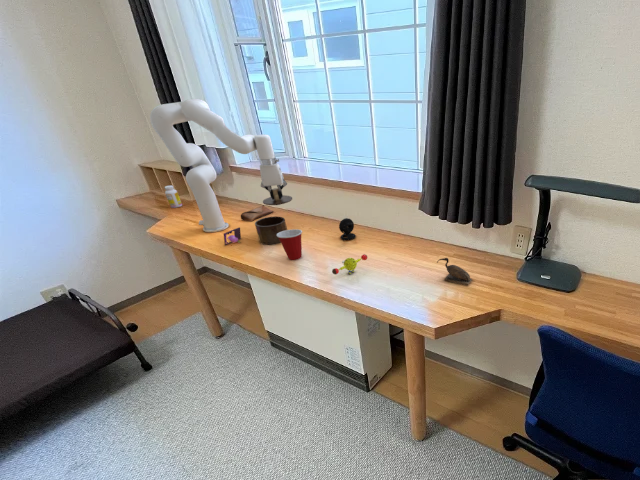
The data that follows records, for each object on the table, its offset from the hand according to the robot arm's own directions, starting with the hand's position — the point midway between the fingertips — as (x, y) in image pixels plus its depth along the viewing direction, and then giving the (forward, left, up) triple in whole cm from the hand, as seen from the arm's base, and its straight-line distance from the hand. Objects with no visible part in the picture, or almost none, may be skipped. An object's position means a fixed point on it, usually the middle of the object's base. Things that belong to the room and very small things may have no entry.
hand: (277, 198), depth 189 cm
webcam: (+41, -15, -15) cm, 46 cm away
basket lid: (0, 0, -1) cm, 1 cm away
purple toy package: (-14, -24, -15) cm, 32 cm away
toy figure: (+53, -51, -15) cm, 75 cm away
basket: (+4, -19, -15) cm, 25 cm away
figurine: (+95, -53, -15) cm, 110 cm away
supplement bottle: (-86, +29, -15) cm, 92 cm away
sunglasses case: (-22, +14, -15) cm, 30 cm away
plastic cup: (+23, -38, -15) cm, 47 cm away
